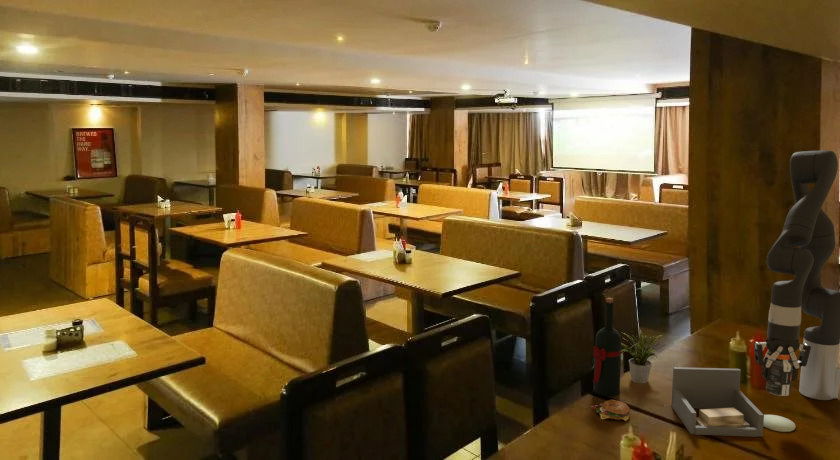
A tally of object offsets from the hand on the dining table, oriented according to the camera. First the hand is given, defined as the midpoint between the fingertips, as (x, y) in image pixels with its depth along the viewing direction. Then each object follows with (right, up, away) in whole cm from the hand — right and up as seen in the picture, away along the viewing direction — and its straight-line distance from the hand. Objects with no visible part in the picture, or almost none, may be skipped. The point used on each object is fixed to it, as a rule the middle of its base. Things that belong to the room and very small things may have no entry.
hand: (779, 379), depth 170 cm
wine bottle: (-41, -10, +24) cm, 48 cm away
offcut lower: (-16, -14, 0) cm, 21 cm away
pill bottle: (0, -4, +1) cm, 4 cm away
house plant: (-26, -8, +34) cm, 43 cm away
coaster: (0, -13, +2) cm, 13 cm away
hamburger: (-44, -13, +10) cm, 47 cm away
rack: (-16, -13, +5) cm, 20 cm away
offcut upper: (-16, -11, 0) cm, 19 cm away
